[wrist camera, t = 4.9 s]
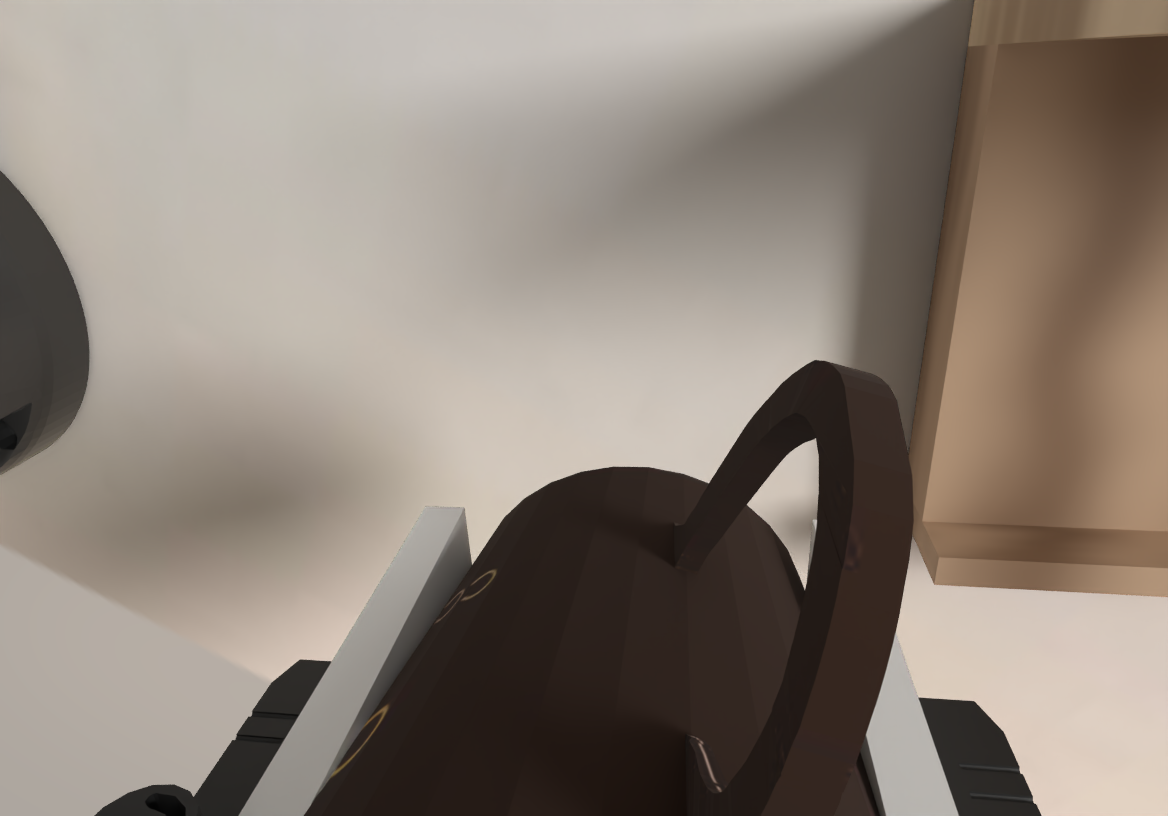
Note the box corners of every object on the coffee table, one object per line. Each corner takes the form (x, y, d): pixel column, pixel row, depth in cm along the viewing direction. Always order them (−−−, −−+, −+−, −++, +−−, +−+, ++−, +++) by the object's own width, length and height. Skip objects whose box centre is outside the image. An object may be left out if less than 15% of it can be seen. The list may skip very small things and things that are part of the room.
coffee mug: (655, 821, 17) (606, 1639, 8) (347, 605, 16) (-110, 1315, 7) (1117, 511, 13) (2138, 1626, 4) (739, 164, 11) (894, 602, 2)
